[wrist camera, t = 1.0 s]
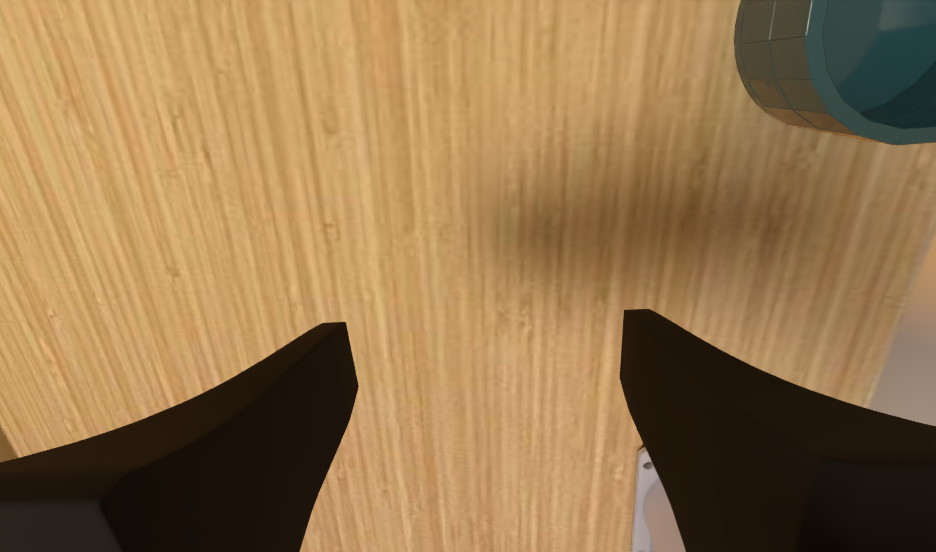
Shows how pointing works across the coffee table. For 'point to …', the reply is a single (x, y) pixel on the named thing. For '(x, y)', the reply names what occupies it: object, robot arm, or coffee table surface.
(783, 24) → the bowl
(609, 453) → the coffee table surface
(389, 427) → the coffee table surface
